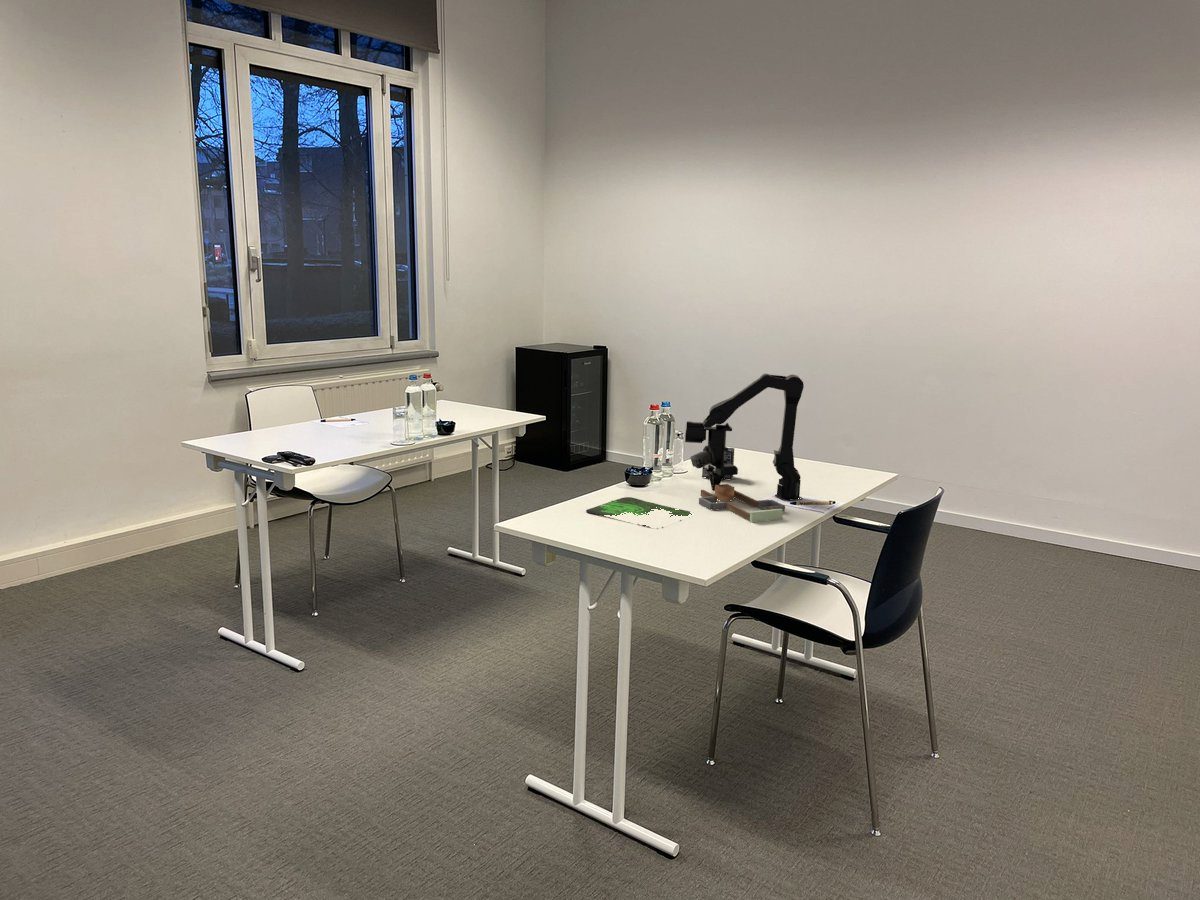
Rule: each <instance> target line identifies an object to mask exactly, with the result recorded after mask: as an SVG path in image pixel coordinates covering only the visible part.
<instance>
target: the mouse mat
mask: <svg viewBox="0 0 1200 900" xmlns="http://www.w3.org/2000/svg"><path fill="white" fill-rule="evenodd" d="M656 507H657V508H656ZM660 508H661V509H664V510H666V511H670V512H672V513H669V514H673V515H675V516H676V515H678V516H681V515H682V516H688V515H689V514H691V513H690V512H691V511H690V510H685V509H681V508H678V509H679V510H675V509H677V508H674V507H671V506H668V505H667V506H666V505H663V504H658V503H654V502H650V501H646V500H643V499H639V498H635V497H632V496H631V497H629V496H628V497H627V496H625V497H621V498H617V499H614V500H611V501H609V502H606V503H603V504H600V505H597V506H594V507H591V508H587V509H586V510H585V512H587V513H589V514H591V513H592V514H591V515H595V514H597V515H596V516H598V515H602V516H604V515H610V516H612V515H615V514H616V515H615V516H617V515H620V514H621V513H624V512H627V513H629V512H630V513H631V512H632V513H633V514H634V515H636V514H638V515H643V514H646V515H647V513H648V512H650V511H654V510H651V509H658V510H661V509H660ZM645 512H646V513H645ZM635 513H636V514H635ZM641 513H643V514H641ZM624 514H626V513H624ZM622 515H623V514H622ZM638 515H637V516H638ZM648 515H649V514H648ZM673 515H671V516H673ZM691 515H692V514H691ZM602 516H601V517H602ZM671 516H670V517H671ZM645 526H646V525H643V526H642V527H645Z"/></svg>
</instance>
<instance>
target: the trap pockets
mask: <svg viewBox="0 0 1200 900" xmlns="http://www.w3.org/2000/svg"><path fill="white" fill-rule="evenodd" d="M714 499H715V497H714V496H709V497H702V496H700V497H698V505H700V506H702V507H703V506H704V507H703V508H705V507H706V508H705V509H707V510H709V511H711V509H713V511H717V510H716V509H719V510H727V509H726V502H727V501H725V502H721V501H719V502H718V501H717V503H715V502H714ZM758 501H759V506H758V508H757V509H760V510H761V511H762V510H766V509H767V507H771V508H773V509H783V512H782V514H783V513H785V512H786V511H785V510H786V505H785V504H782V503H780V502H778V501H776V500H774V499H762V500H761V499H760V500H759V499H758Z"/></svg>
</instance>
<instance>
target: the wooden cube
mask: <svg viewBox="0 0 1200 900" xmlns="http://www.w3.org/2000/svg"><path fill="white" fill-rule="evenodd" d="M734 490H735V486H733V485H730V484H728V483H722V484H721V483H720V485H715V491H714V495H715V496H717V499H718V500H717V501H719V500H720V501H719V502H721V501H725V502H731V501H730V500H735V498H734Z"/></svg>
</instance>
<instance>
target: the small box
mask: <svg viewBox="0 0 1200 900" xmlns="http://www.w3.org/2000/svg"><path fill="white" fill-rule="evenodd" d="M727 448H728V451H725V459H726V460H727V463H724V464H732V465H735V464H734V463H735V462H734V461H735V447H727ZM703 451H704V448H703V449H702V452H703ZM703 468H705V466H703V467H702V471H701V478H702V477H706V478H705V479H709V476H708V473H707V472H706V471H705V470H703ZM732 477H734V475H727V476H724V478H723V479H722V480H725V479H732V480H733V478H732Z"/></svg>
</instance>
